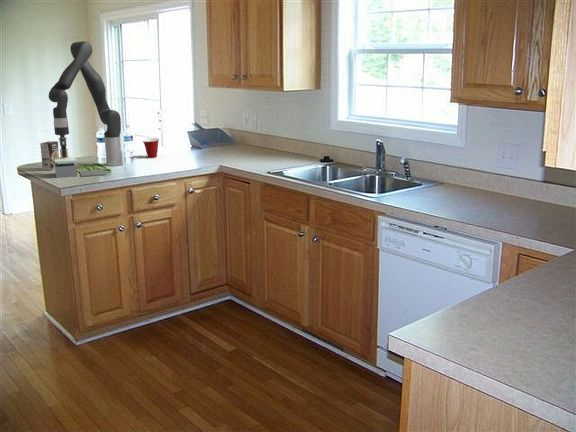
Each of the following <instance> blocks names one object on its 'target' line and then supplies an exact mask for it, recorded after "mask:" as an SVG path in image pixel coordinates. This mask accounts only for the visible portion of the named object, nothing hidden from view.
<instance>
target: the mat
mask: <svg viewBox="0 0 576 432" xmlns="http://www.w3.org/2000/svg"><path fill="white" fill-rule="evenodd" d="M79 174H80V177H81V178H86V177H98V176H106V172H105V170H104V169H93V170H92V169H91V170H79Z"/></svg>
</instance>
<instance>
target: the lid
mask: <svg viewBox="0 0 576 432" xmlns="http://www.w3.org/2000/svg"><path fill="white" fill-rule="evenodd" d="M66 155H67V157H62V150H61V148H60V149H59V158H54V161H55V163H57V164H69V163H74V162H75V163H76V162H77V159H76V157H75V156H69V151H68V148H66Z"/></svg>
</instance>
